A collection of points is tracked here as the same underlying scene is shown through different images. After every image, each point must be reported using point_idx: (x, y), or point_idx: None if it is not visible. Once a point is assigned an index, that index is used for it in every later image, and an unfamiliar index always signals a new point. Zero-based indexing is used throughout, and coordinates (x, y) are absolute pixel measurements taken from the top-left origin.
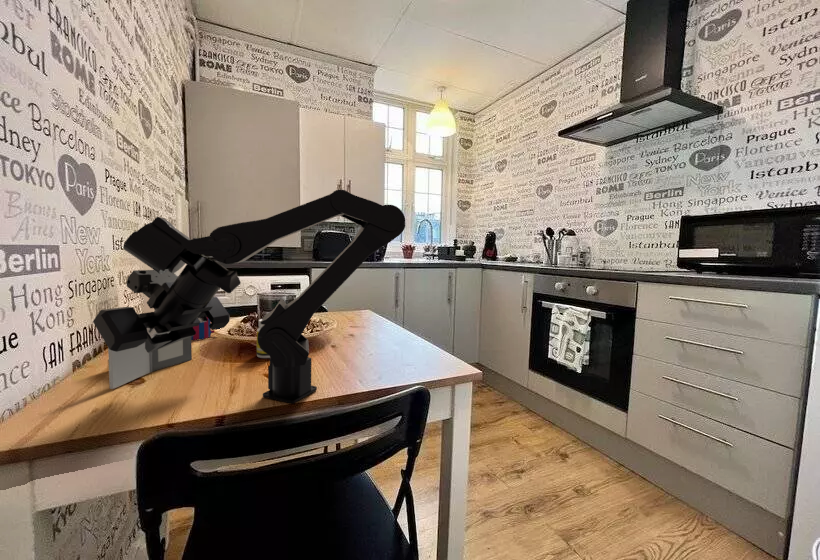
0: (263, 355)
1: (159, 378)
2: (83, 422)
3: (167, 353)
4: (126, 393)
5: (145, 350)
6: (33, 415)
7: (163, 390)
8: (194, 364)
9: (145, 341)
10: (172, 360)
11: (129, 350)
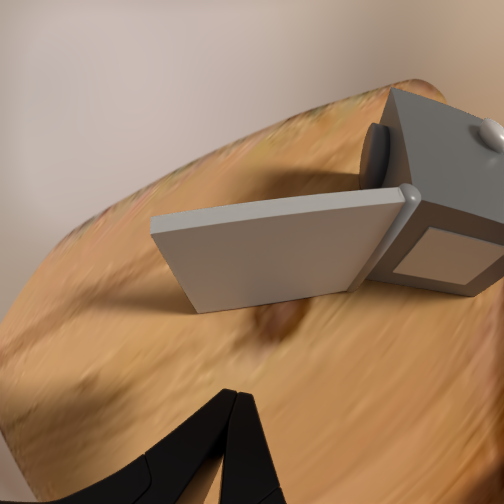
0: None
1: (324, 358)
2: (43, 407)
3: (430, 267)
4: (189, 370)
5: (354, 254)
6: (62, 275)
7: None
8: (454, 343)
9: (186, 421)
10: (431, 282)
11: (269, 254)
